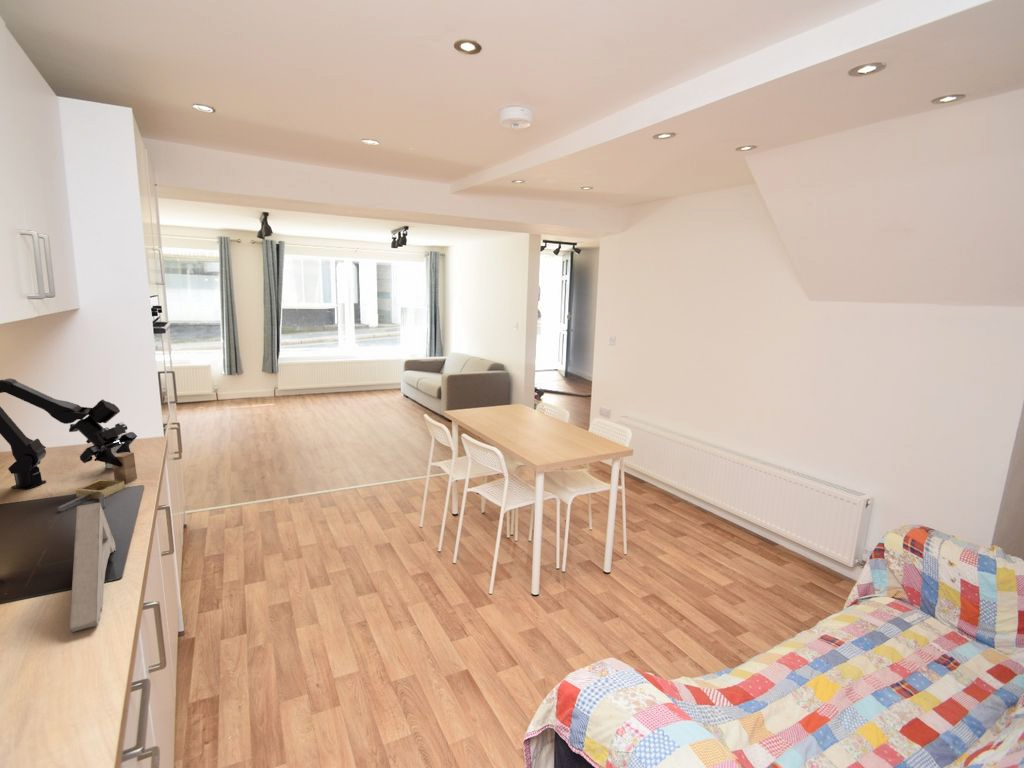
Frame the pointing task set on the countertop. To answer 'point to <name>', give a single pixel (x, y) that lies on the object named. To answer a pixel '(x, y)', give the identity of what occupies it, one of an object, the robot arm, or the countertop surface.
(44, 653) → the countertop surface
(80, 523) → the wall bracket
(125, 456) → the brown wooden block
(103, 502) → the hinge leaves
